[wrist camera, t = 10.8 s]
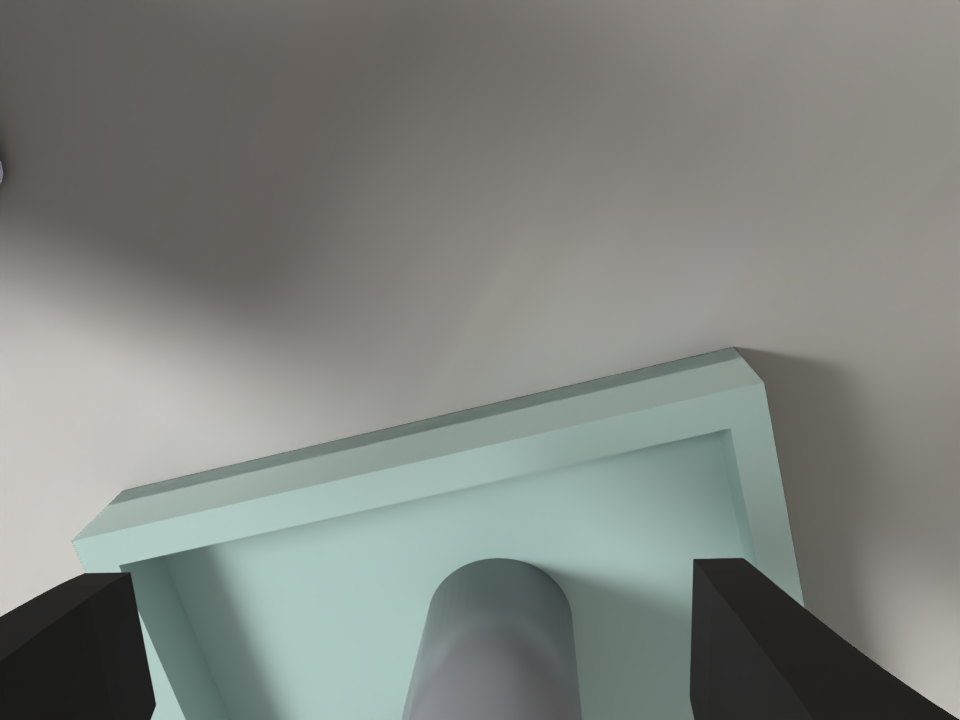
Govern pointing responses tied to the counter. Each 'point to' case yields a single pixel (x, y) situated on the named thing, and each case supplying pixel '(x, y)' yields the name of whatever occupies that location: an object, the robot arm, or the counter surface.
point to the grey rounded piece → (496, 648)
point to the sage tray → (454, 544)
